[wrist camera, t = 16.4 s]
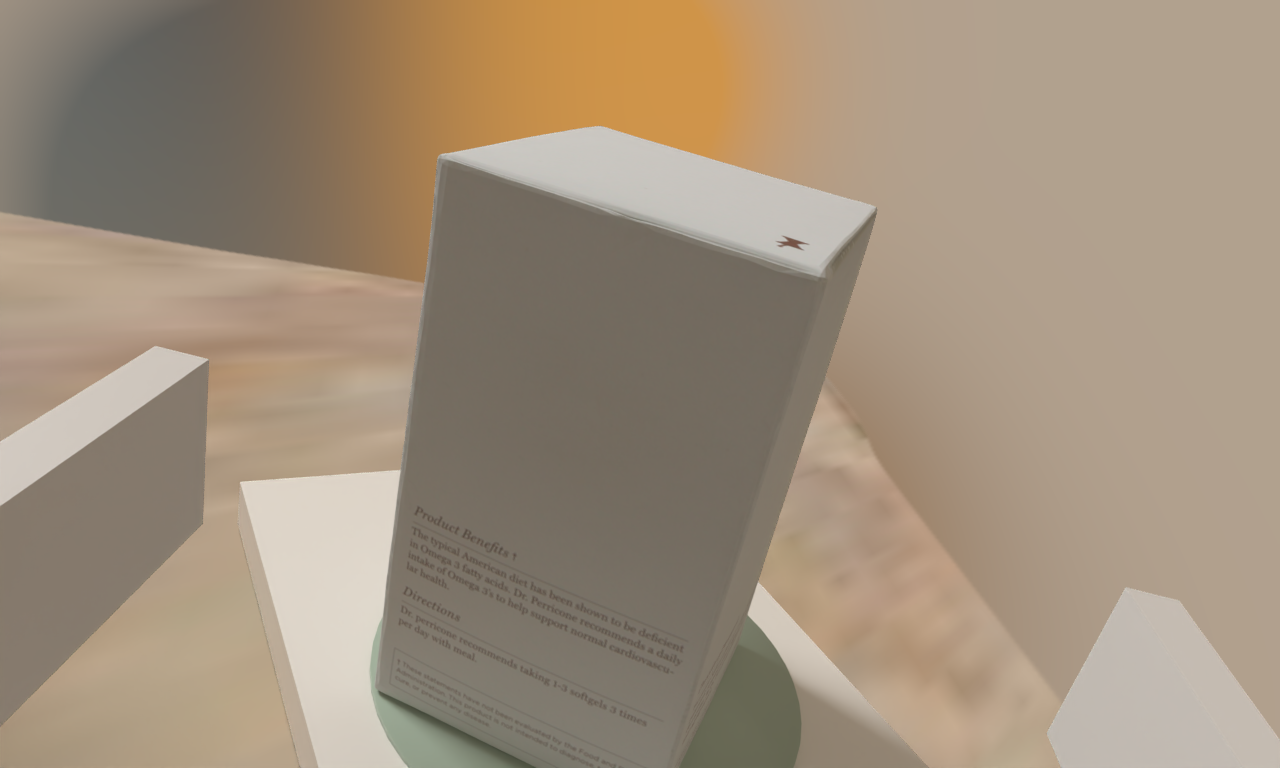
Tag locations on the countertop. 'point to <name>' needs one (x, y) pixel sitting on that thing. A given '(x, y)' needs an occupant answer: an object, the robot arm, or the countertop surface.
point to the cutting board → (447, 757)
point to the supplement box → (602, 436)
